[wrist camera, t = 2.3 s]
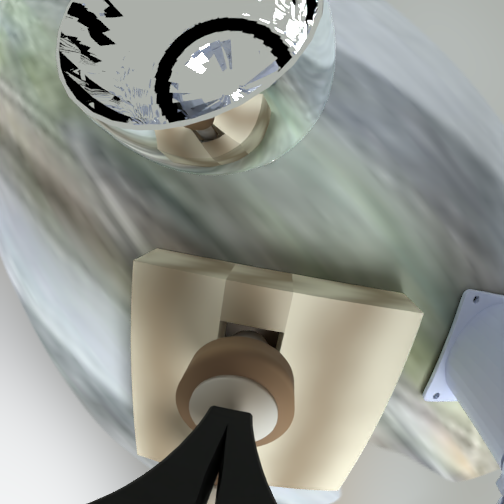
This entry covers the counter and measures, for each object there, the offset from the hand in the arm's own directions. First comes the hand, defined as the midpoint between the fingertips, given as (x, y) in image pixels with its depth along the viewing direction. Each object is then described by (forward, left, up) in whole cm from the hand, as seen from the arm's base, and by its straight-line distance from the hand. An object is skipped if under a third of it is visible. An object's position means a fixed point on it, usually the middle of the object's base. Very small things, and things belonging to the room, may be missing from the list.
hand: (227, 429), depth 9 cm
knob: (0, 0, -6) cm, 6 cm away
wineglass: (+2, -11, -8) cm, 14 cm away
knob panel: (-1, +3, -8) cm, 9 cm away
